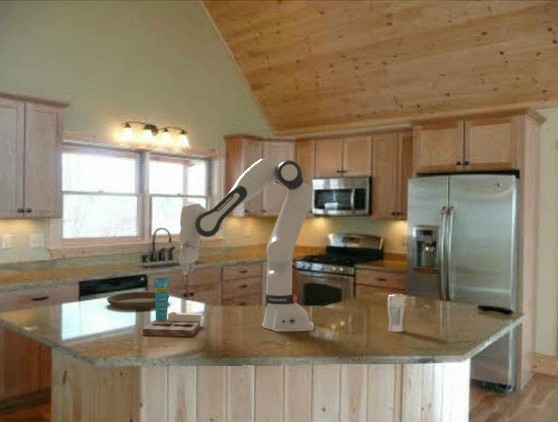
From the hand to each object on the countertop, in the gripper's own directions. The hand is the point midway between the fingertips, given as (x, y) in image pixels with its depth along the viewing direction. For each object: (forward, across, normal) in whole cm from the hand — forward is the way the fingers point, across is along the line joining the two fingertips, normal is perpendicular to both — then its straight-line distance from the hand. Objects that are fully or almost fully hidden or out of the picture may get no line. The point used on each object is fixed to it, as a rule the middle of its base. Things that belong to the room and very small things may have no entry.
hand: (188, 273), depth 204 cm
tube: (+23, +8, +13) cm, 28 cm away
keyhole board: (+23, -10, +3) cm, 25 cm away
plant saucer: (+24, +40, +35) cm, 59 cm away
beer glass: (+20, +2, -90) cm, 92 cm away
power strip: (+23, -1, 0) cm, 23 cm away
